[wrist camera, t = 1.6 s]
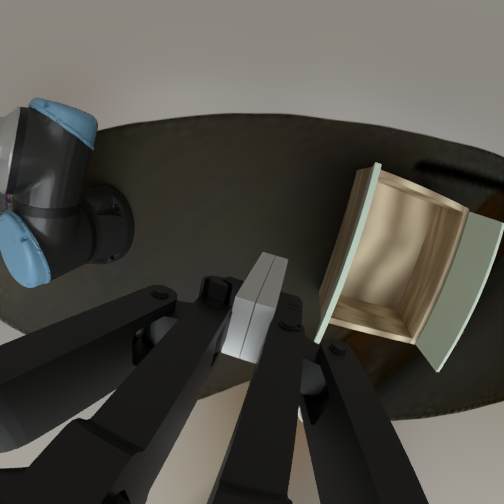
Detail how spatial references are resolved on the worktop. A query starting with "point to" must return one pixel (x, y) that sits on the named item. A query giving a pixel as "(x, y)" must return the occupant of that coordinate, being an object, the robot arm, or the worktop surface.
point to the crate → (393, 257)
